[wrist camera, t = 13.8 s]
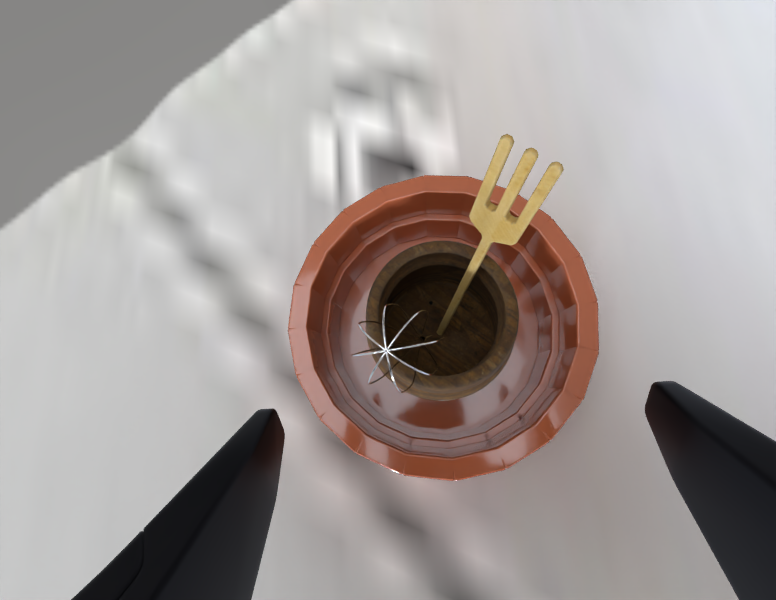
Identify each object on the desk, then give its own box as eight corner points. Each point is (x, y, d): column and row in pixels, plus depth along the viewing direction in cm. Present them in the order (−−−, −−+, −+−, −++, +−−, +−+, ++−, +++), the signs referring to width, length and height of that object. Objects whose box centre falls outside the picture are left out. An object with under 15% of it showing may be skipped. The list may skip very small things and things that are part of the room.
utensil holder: (354, 350, 20) (251, 305, 9) (427, 252, 21) (422, 84, 9) (452, 424, 19) (486, 487, 7) (526, 317, 20) (664, 220, 8)
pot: (397, 504, 19) (386, 546, 14) (282, 296, 22) (240, 271, 17) (609, 371, 19) (669, 367, 15) (469, 182, 22) (480, 125, 17)
